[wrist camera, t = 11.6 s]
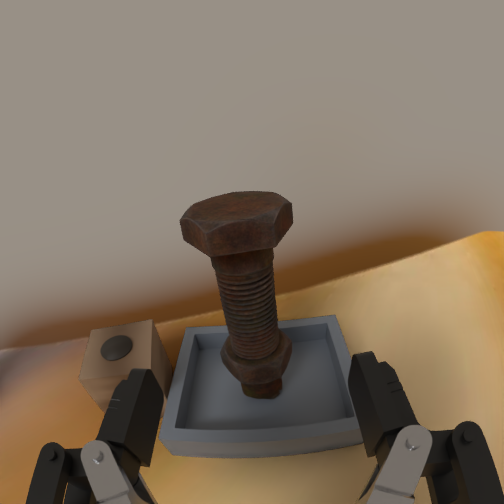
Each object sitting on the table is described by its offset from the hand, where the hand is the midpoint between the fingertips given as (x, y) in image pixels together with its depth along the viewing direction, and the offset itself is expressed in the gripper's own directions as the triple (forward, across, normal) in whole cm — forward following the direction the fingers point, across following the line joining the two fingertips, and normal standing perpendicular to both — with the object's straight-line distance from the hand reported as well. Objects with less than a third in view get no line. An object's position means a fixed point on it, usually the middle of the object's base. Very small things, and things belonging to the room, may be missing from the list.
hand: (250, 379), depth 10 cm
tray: (+7, 0, +11) cm, 13 cm away
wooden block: (+7, +11, +11) cm, 17 cm away
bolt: (+7, 0, +10) cm, 12 cm away
